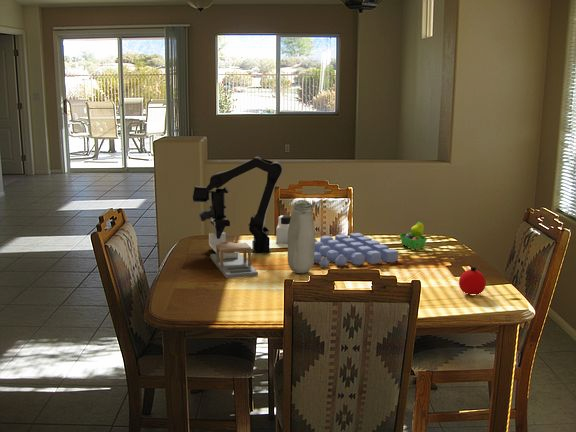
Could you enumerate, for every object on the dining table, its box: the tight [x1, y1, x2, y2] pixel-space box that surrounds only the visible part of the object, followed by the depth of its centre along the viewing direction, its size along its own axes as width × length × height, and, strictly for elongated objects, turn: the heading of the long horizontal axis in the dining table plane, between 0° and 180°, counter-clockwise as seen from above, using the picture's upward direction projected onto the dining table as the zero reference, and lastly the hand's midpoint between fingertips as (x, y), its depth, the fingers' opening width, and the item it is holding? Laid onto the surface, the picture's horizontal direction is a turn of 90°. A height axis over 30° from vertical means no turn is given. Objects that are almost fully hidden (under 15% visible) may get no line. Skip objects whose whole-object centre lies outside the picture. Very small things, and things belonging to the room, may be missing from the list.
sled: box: [208, 231, 239, 259], centre depth 276 cm, size 7×24×5 cm, turn 18°
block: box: [220, 241, 236, 253], centre depth 269 cm, size 5×5×4 cm
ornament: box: [458, 266, 487, 295], centre depth 228 cm, size 9×9×10 cm
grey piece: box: [209, 242, 259, 279], centre depth 260 cm, size 12×30×8 cm, turn 18°
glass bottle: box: [287, 199, 316, 274], centre depth 251 cm, size 10×10×28 cm
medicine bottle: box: [275, 214, 291, 245], centre depth 300 cm, size 7×7×12 cm
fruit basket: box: [399, 221, 428, 249], centre depth 293 cm, size 11×9×11 cm
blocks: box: [313, 232, 399, 268], centre depth 280 cm, size 35×34×5 cm
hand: (218, 238), depth 284 cm, fingers closed
